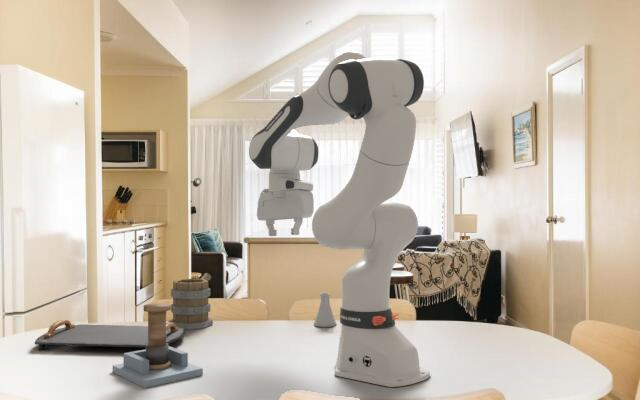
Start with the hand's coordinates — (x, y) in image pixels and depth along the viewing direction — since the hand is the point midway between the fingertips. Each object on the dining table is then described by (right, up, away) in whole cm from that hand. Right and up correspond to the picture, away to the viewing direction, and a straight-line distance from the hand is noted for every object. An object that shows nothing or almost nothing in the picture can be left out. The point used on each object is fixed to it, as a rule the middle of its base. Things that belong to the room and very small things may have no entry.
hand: (283, 235), depth 171 cm
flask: (+12, -30, +22) cm, 38 cm away
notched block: (-27, -30, -31) cm, 51 cm away
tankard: (-29, -30, +25) cm, 48 cm away
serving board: (-47, -30, -2) cm, 56 cm away
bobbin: (-27, -28, -31) cm, 50 cm away
